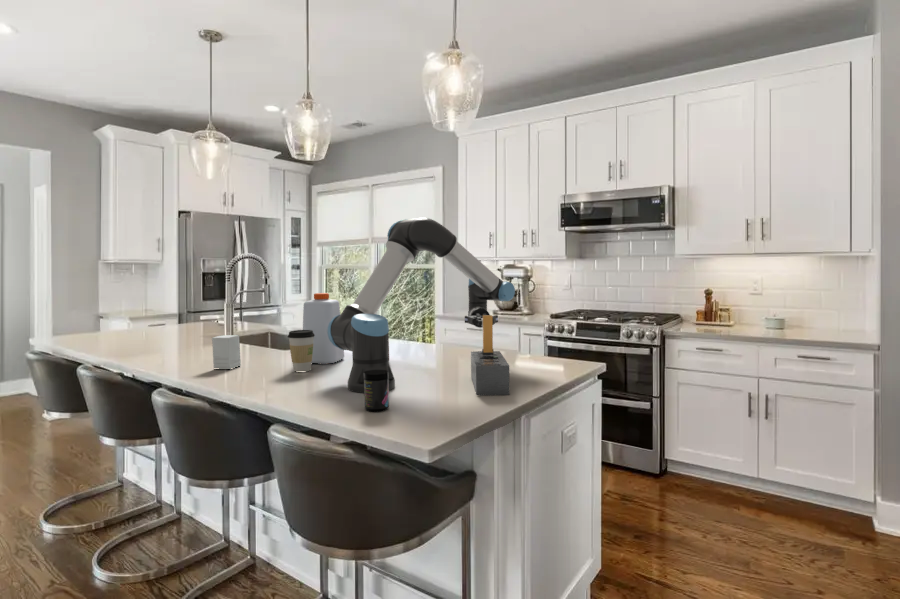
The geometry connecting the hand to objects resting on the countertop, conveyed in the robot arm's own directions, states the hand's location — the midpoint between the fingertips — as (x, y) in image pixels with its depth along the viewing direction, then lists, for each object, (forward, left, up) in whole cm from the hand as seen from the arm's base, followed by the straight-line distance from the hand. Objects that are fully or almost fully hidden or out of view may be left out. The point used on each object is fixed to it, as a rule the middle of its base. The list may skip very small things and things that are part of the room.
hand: (485, 324), depth 188 cm
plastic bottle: (-38, +63, -19) cm, 75 cm away
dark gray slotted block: (-3, -5, -18) cm, 20 cm away
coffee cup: (-51, +48, -19) cm, 72 cm away
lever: (-5, -9, -8) cm, 13 cm away
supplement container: (-49, -17, -19) cm, 55 cm away
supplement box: (-74, +70, -19) cm, 103 cm away
